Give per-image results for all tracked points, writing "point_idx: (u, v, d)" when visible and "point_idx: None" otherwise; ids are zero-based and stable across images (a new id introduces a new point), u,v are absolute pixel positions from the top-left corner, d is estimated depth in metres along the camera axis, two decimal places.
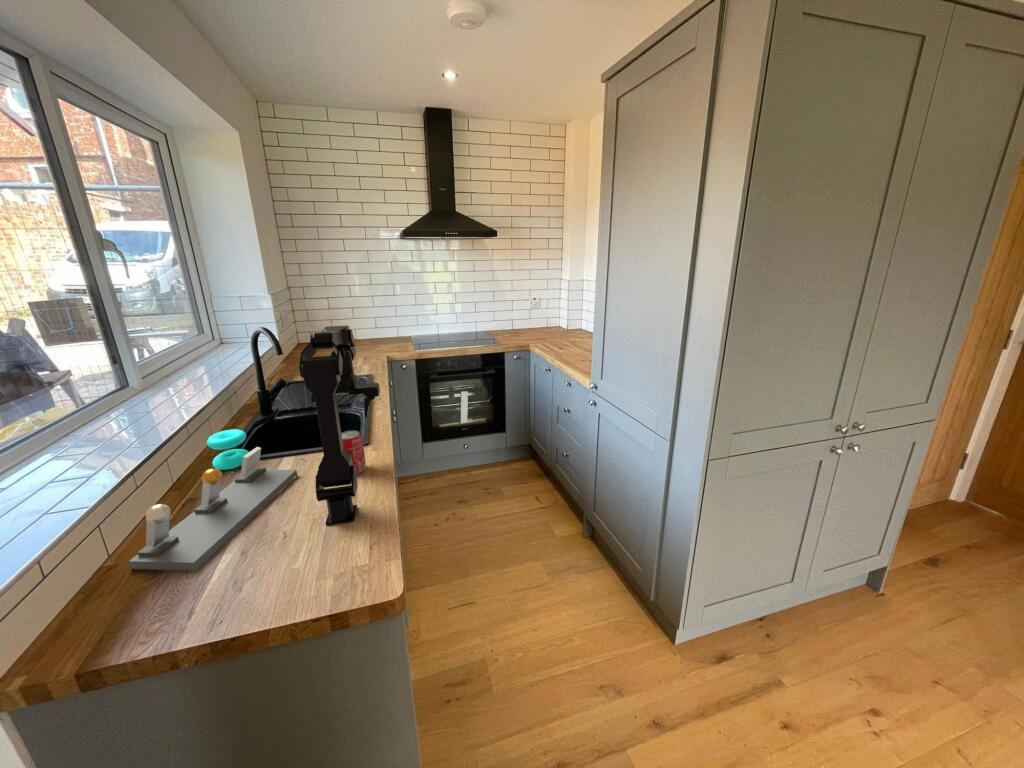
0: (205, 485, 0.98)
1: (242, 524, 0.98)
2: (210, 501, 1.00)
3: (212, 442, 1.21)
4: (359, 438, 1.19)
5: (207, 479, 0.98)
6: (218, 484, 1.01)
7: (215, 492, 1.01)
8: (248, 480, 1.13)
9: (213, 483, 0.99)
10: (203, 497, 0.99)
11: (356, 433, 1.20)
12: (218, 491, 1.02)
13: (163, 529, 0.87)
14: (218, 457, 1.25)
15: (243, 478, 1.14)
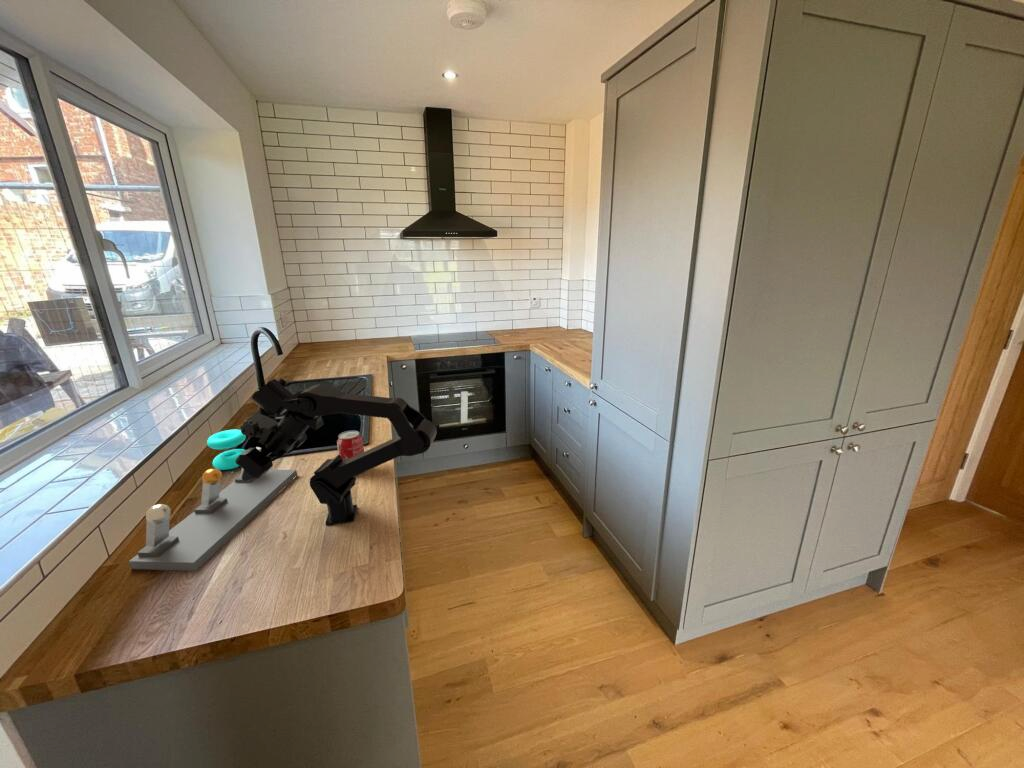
0: (205, 485, 0.98)
1: (242, 524, 0.98)
2: (210, 501, 1.00)
3: (212, 442, 1.21)
4: (359, 438, 1.19)
5: (207, 479, 0.98)
6: (218, 484, 1.01)
7: (215, 492, 1.01)
8: (248, 480, 1.13)
9: (213, 483, 0.99)
10: (203, 497, 0.99)
11: (356, 433, 1.20)
12: (218, 491, 1.02)
13: (163, 529, 0.87)
14: (218, 457, 1.25)
15: None
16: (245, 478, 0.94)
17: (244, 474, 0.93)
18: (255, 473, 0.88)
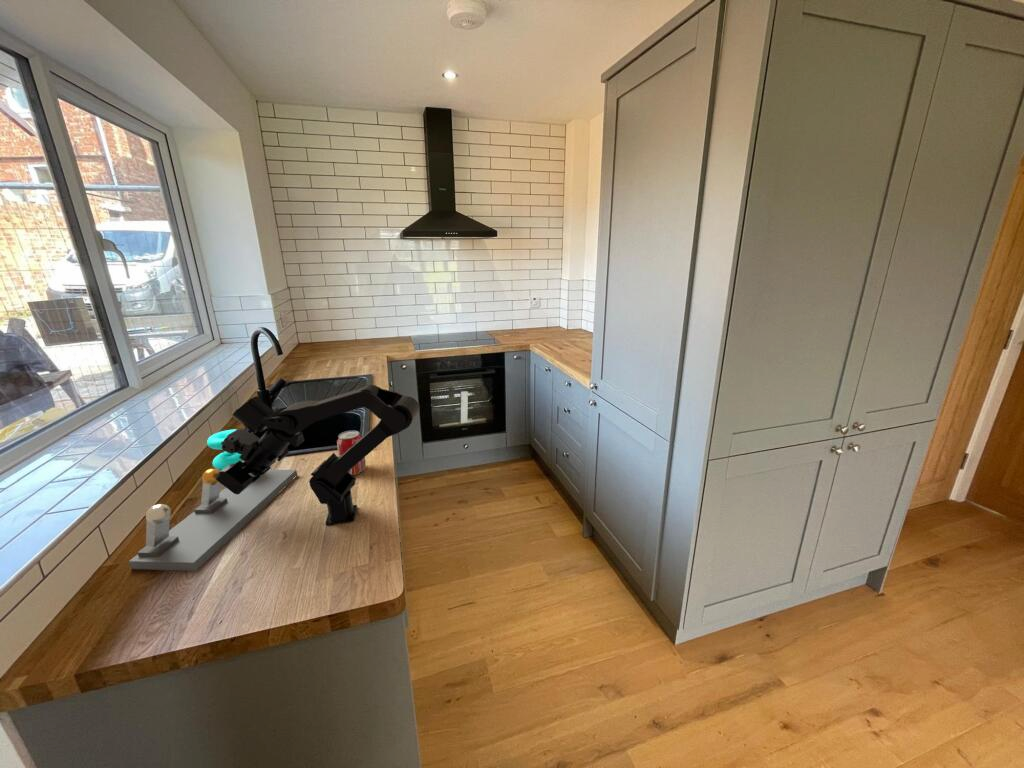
0: (205, 485, 0.98)
1: (242, 524, 0.98)
2: (210, 501, 1.00)
3: (212, 442, 1.21)
4: (359, 438, 1.19)
5: (207, 479, 0.98)
6: (218, 484, 1.01)
7: (215, 492, 1.01)
8: None
9: (213, 483, 0.99)
10: (203, 497, 0.99)
11: (356, 433, 1.20)
12: (218, 491, 1.02)
13: (163, 529, 0.87)
14: (218, 457, 1.25)
15: None
16: None
17: None
18: (235, 489, 0.89)
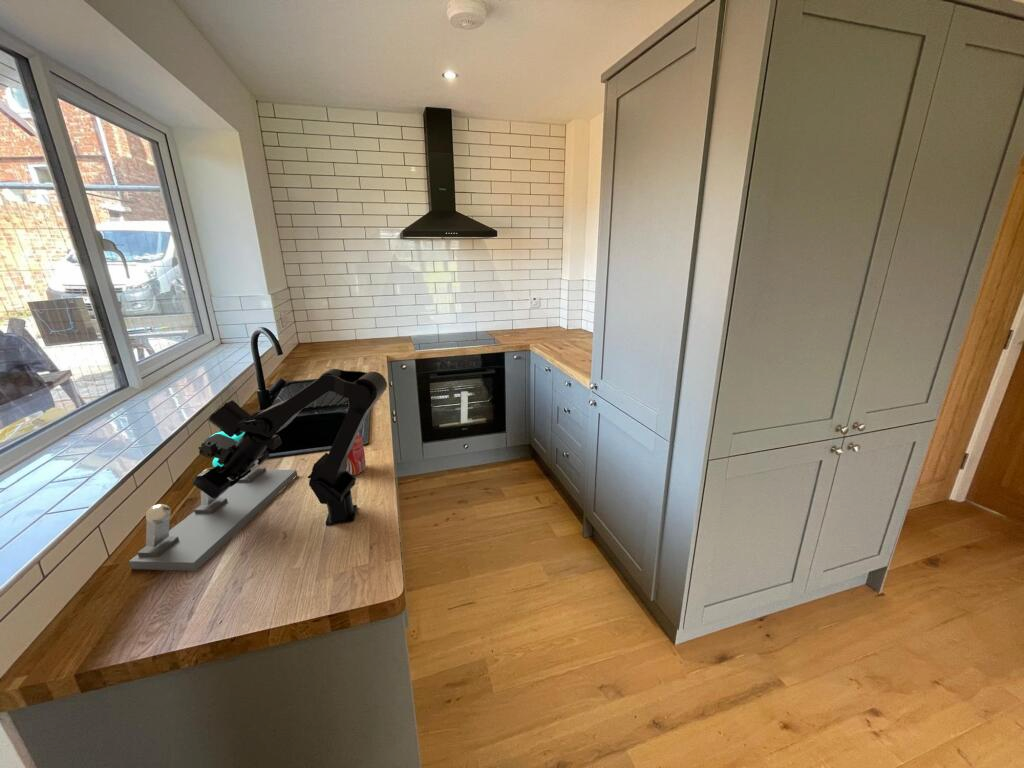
0: None
1: (242, 524, 0.98)
2: (210, 501, 1.00)
3: None
4: (359, 438, 1.19)
5: None
6: None
7: None
8: (248, 480, 1.13)
9: None
10: (202, 497, 0.99)
11: None
12: None
13: (163, 529, 0.87)
14: None
15: (243, 478, 1.14)
16: None
17: None
18: (212, 493, 0.90)
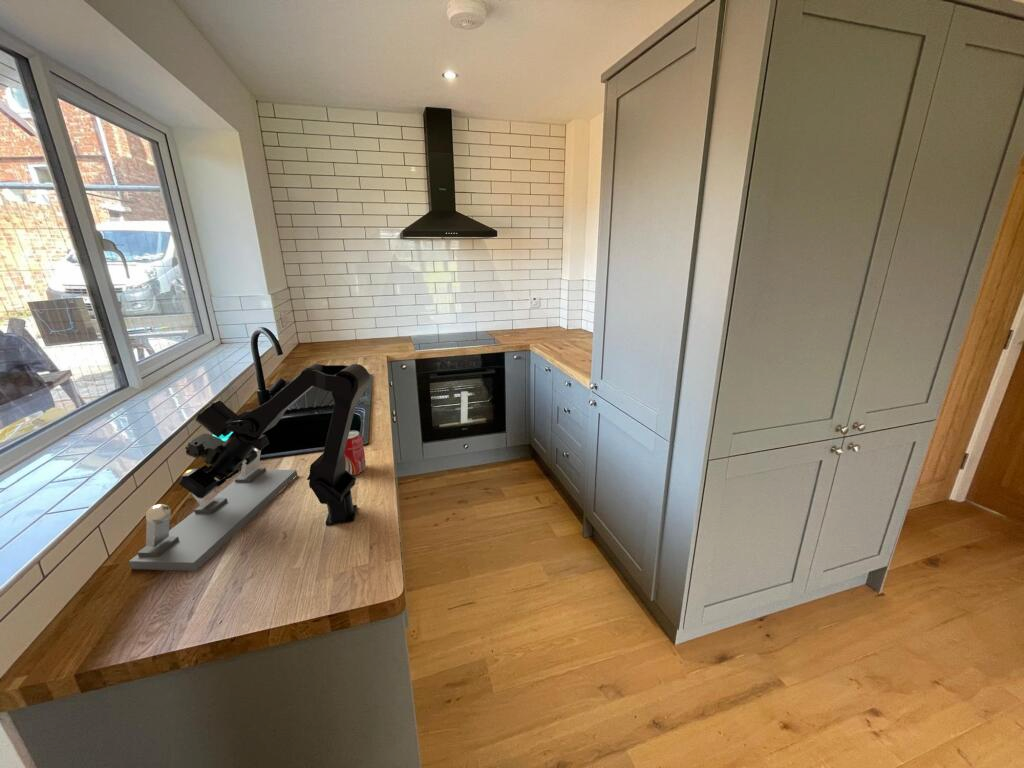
0: None
1: (242, 524, 0.98)
2: (206, 499, 1.00)
3: None
4: (359, 438, 1.19)
5: None
6: None
7: None
8: (248, 480, 1.13)
9: None
10: (197, 498, 0.99)
11: (356, 433, 1.20)
12: None
13: (163, 529, 0.87)
14: None
15: (243, 478, 1.14)
16: None
17: None
18: (198, 493, 0.90)
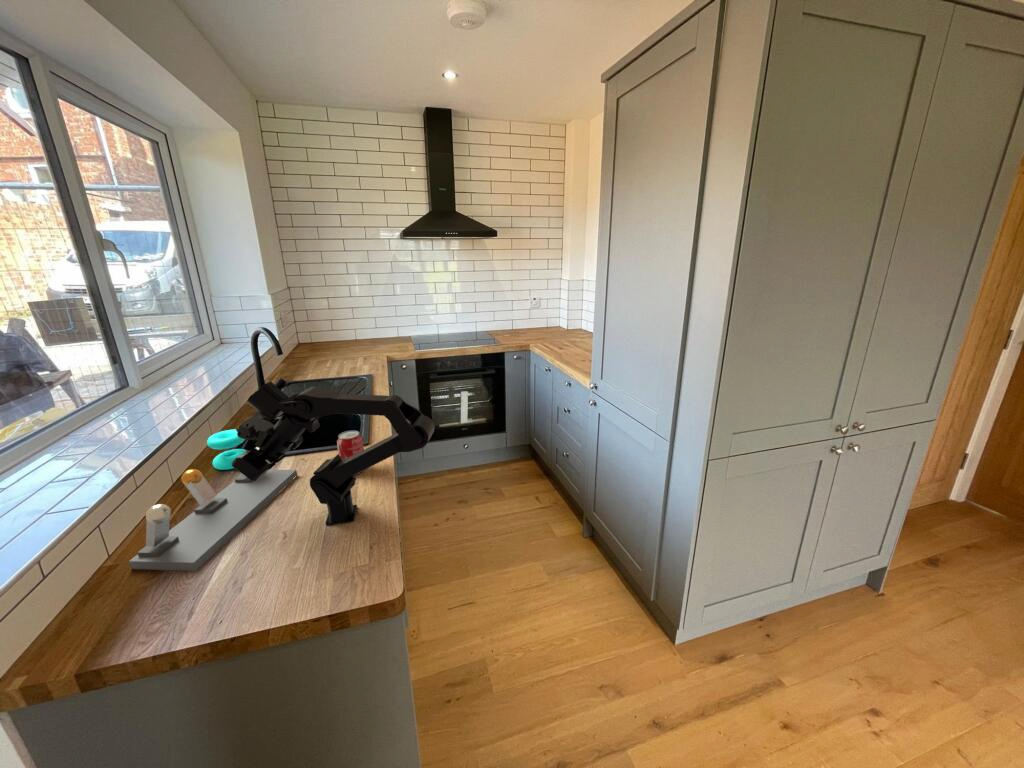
0: (189, 486, 0.99)
1: (242, 524, 0.98)
2: (206, 499, 1.00)
3: (212, 442, 1.21)
4: (359, 438, 1.19)
5: (185, 479, 0.98)
6: (204, 482, 1.01)
7: (206, 490, 1.01)
8: (248, 480, 1.13)
9: (193, 480, 0.99)
10: (197, 498, 1.00)
11: (356, 433, 1.20)
12: (210, 489, 1.02)
13: (163, 529, 0.87)
14: (218, 457, 1.25)
15: (243, 478, 1.14)
16: None
17: None
18: (251, 476, 0.88)
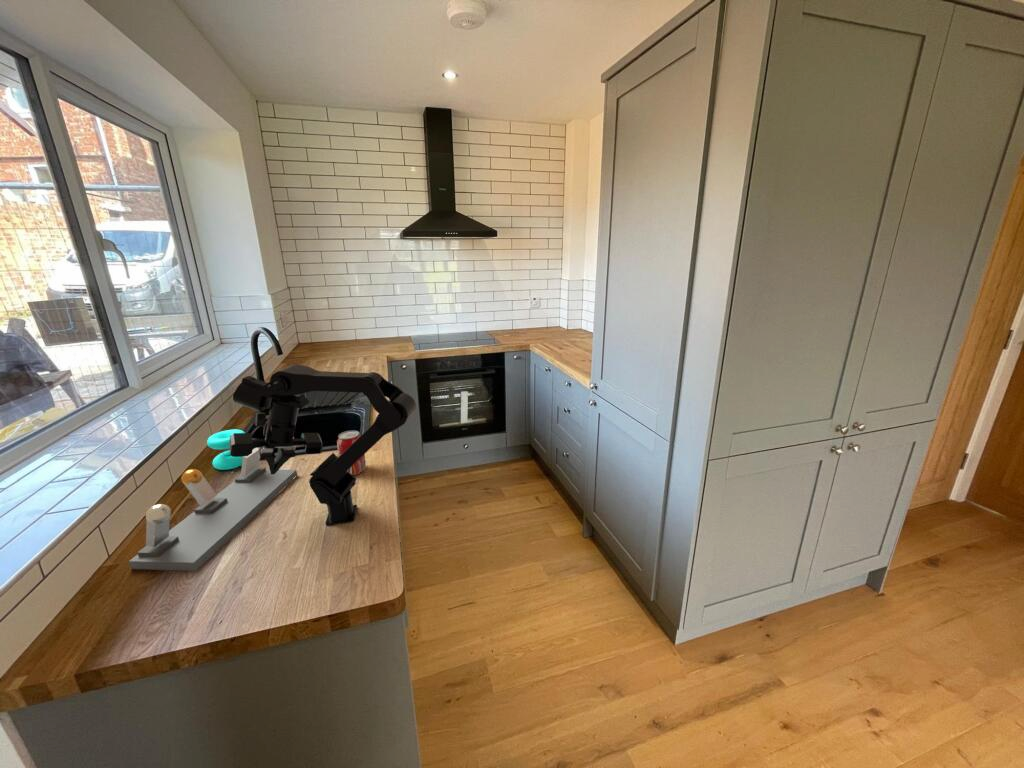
0: (189, 486, 0.99)
1: (242, 524, 0.98)
2: (206, 499, 1.00)
3: (212, 442, 1.21)
4: None
5: (185, 479, 0.98)
6: (204, 482, 1.01)
7: (206, 490, 1.01)
8: (248, 480, 1.13)
9: (193, 480, 0.99)
10: (197, 498, 1.00)
11: (356, 433, 1.20)
12: (210, 489, 1.02)
13: (163, 529, 0.87)
14: (218, 457, 1.25)
15: (243, 478, 1.14)
16: (270, 470, 0.98)
17: None
18: (230, 450, 0.89)
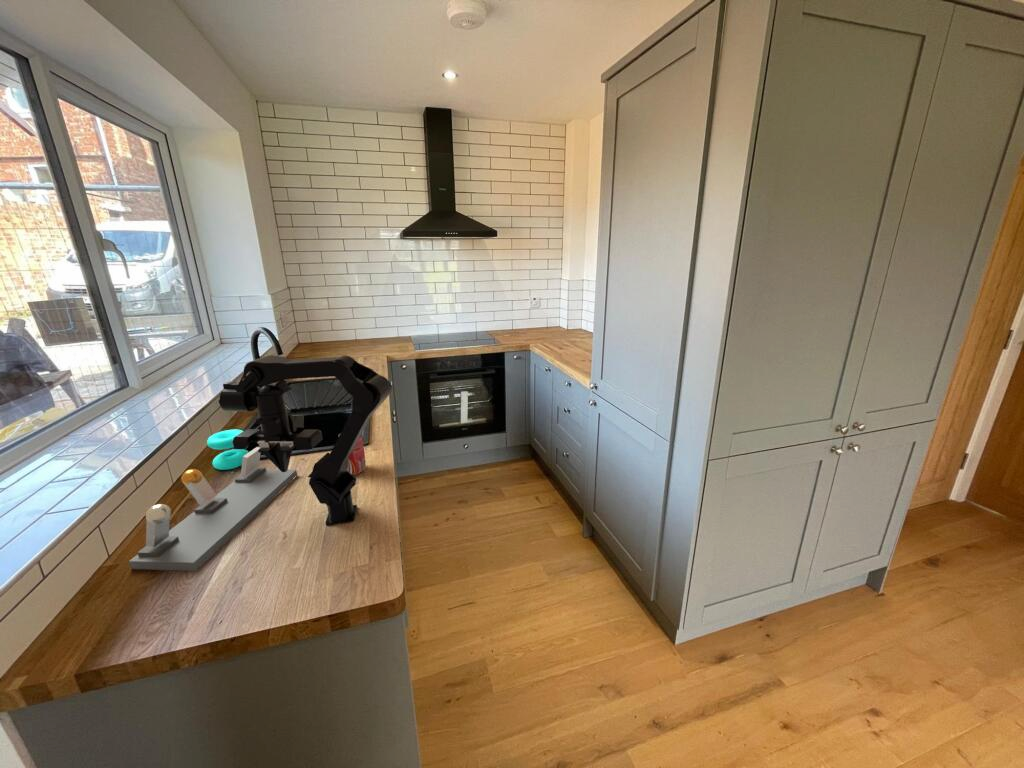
0: (189, 486, 0.99)
1: (242, 524, 0.98)
2: (206, 499, 1.00)
3: (212, 442, 1.21)
4: (359, 438, 1.19)
5: (185, 479, 0.98)
6: (204, 482, 1.01)
7: (206, 490, 1.01)
8: (248, 480, 1.13)
9: (193, 480, 0.99)
10: (197, 498, 1.00)
11: None
12: (210, 489, 1.02)
13: (163, 529, 0.87)
14: (218, 457, 1.25)
15: (243, 478, 1.14)
16: None
17: None
18: None
